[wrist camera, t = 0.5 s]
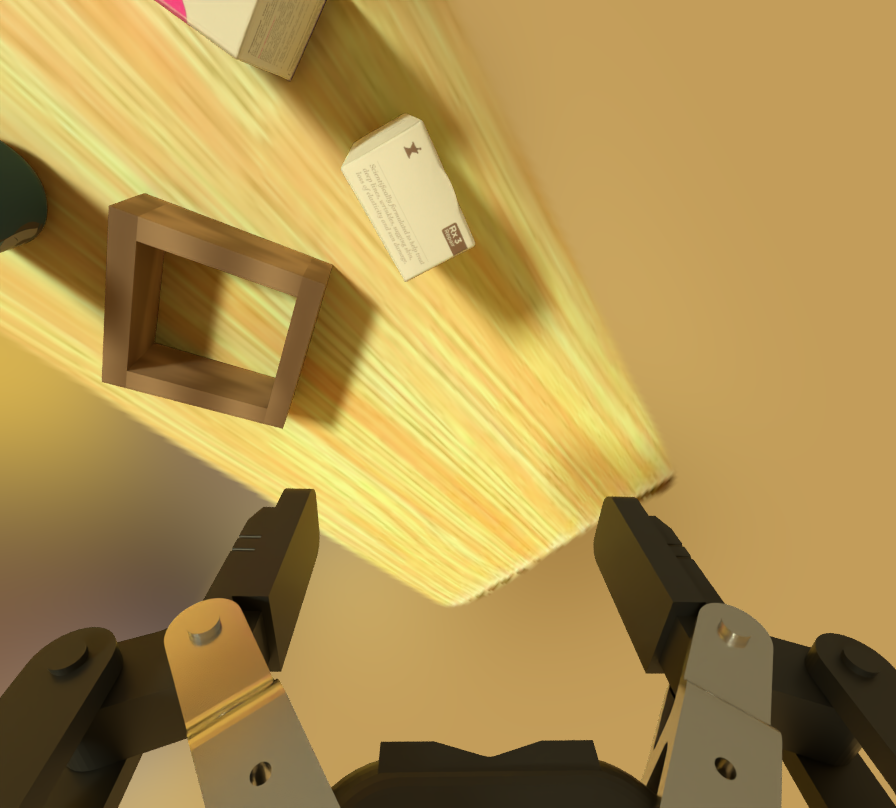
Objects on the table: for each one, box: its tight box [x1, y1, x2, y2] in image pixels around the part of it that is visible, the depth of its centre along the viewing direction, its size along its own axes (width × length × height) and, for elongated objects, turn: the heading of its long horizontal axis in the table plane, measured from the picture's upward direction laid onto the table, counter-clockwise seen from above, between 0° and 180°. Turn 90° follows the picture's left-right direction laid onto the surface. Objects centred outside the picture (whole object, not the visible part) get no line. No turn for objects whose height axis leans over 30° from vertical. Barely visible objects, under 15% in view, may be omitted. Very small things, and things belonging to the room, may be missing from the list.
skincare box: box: [341, 113, 475, 282], centre depth 25 cm, size 6×4×12 cm
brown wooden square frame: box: [102, 193, 333, 429], centre depth 33 cm, size 13×13×4 cm
